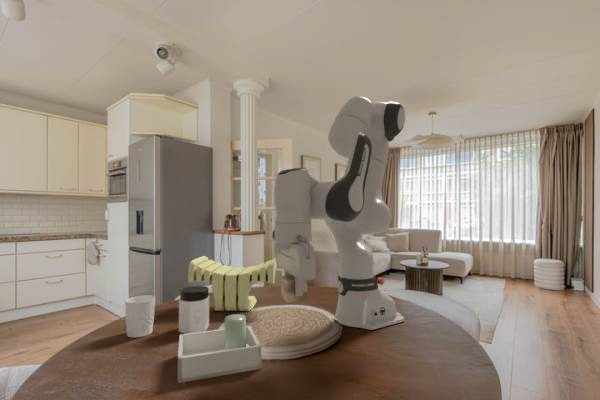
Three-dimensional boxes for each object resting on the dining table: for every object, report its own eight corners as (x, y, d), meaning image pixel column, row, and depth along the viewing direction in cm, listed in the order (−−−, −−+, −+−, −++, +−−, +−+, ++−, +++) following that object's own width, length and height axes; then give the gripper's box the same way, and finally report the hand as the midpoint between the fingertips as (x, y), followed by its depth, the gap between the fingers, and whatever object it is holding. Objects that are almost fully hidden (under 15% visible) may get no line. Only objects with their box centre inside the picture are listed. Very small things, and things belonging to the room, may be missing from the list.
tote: (249, 344, 83) (249, 325, 84) (261, 368, 71) (261, 346, 71) (179, 354, 77) (179, 334, 78) (177, 383, 65) (177, 358, 65)
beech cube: (300, 294, 79) (300, 274, 79) (307, 300, 74) (307, 278, 74) (281, 296, 77) (281, 276, 77) (287, 302, 72) (286, 280, 72)
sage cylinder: (241, 348, 79) (241, 312, 79) (248, 357, 74) (248, 319, 74) (221, 353, 76) (221, 316, 76) (228, 362, 72) (228, 323, 72)
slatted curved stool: (187, 313, 109) (188, 262, 110) (203, 300, 125) (203, 255, 126) (273, 314, 108) (273, 262, 109) (278, 300, 124) (278, 255, 124)
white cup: (159, 333, 92) (159, 298, 92) (130, 341, 86) (130, 304, 86) (148, 326, 97) (149, 293, 97) (120, 333, 91) (121, 299, 91)
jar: (182, 336, 89) (182, 294, 89) (175, 328, 95) (176, 288, 96) (213, 330, 94) (213, 289, 94) (205, 322, 100) (205, 284, 101)
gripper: (322, 237, 67) (323, 302, 67) (292, 231, 86) (293, 281, 86) (294, 238, 65) (295, 305, 65) (270, 231, 84) (271, 283, 84)
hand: (294, 291), depth 75 cm, fingers closed on beech cube, 5 cm apart
